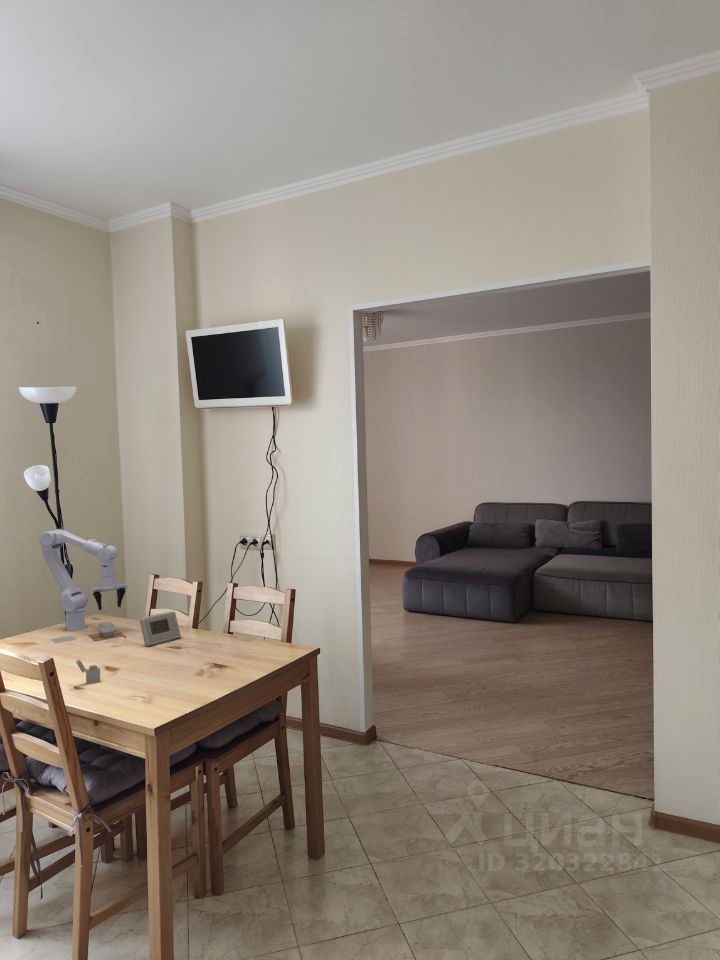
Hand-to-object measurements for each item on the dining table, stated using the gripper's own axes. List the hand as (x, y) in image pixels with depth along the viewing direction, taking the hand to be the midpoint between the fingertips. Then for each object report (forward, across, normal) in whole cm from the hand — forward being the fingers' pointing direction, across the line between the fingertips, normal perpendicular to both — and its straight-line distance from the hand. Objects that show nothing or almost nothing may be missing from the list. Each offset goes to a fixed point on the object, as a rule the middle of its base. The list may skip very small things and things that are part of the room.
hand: (109, 608), depth 284 cm
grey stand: (+10, -19, -4) cm, 22 cm away
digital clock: (+11, +12, -26) cm, 31 cm away
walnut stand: (+10, -4, -9) cm, 14 cm away
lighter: (+11, -23, -60) cm, 65 cm away
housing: (+9, -4, -10) cm, 14 cm away
